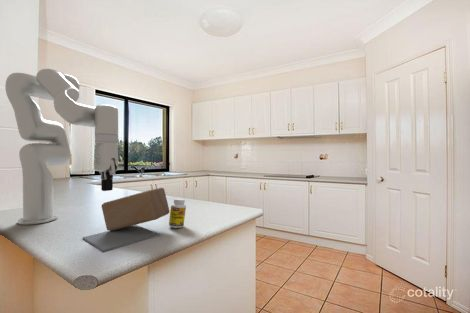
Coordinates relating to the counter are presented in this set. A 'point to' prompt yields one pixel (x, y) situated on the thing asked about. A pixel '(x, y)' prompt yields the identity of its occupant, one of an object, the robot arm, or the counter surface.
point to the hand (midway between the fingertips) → (107, 190)
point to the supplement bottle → (177, 213)
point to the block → (135, 209)
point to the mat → (119, 237)
